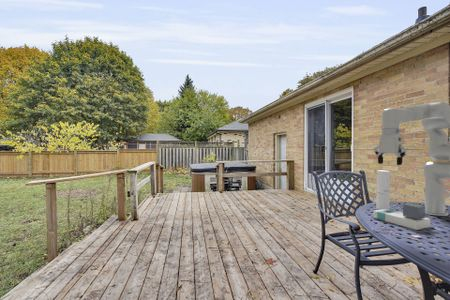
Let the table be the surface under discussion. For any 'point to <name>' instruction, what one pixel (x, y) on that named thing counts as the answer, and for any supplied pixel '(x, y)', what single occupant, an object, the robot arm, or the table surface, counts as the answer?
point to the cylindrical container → (383, 189)
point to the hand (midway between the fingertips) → (389, 164)
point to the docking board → (401, 219)
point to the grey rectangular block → (414, 211)
